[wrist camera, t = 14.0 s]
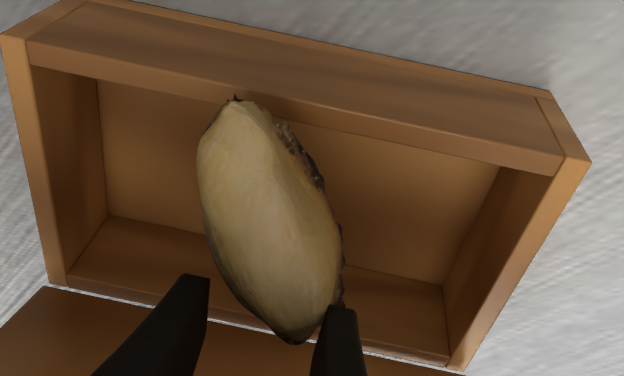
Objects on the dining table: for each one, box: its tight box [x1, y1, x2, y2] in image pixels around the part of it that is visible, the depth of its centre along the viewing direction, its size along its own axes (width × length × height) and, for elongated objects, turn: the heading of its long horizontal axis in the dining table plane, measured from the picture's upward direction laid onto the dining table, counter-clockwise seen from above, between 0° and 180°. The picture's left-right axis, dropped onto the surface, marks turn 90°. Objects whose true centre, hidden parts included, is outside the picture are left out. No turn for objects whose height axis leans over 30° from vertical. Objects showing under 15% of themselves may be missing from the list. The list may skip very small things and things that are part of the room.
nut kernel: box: [196, 94, 346, 345], centre depth 12 cm, size 6×5×3 cm
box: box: [0, 0, 592, 372], centre depth 17 cm, size 9×15×4 cm, turn 80°
